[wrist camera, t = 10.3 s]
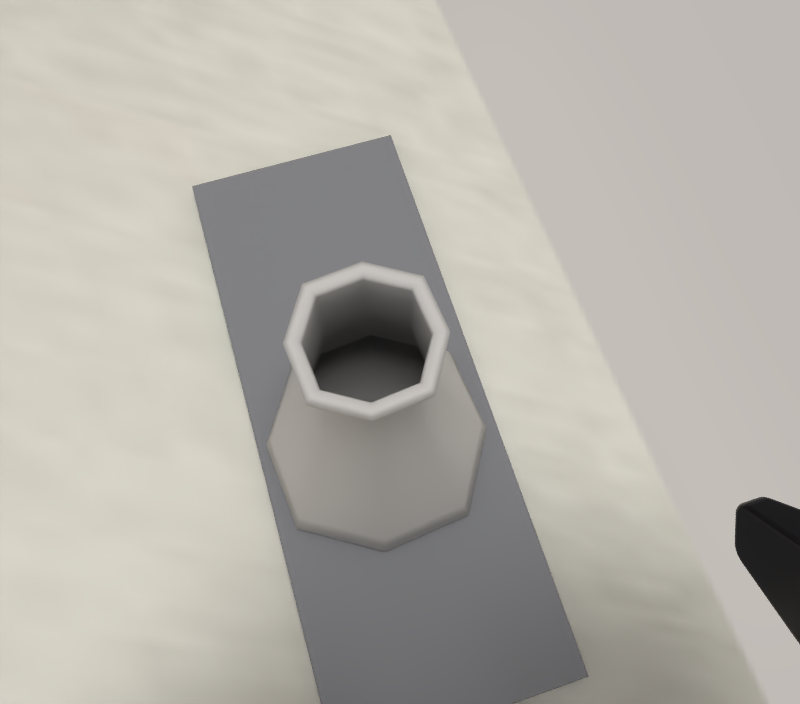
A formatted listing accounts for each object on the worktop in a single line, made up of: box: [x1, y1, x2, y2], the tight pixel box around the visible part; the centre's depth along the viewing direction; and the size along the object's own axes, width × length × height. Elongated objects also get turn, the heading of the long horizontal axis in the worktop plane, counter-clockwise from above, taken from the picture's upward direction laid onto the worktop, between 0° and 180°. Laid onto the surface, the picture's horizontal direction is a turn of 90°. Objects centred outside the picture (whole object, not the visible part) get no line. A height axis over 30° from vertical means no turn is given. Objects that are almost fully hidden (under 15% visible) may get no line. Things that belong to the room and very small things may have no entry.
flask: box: [266, 262, 487, 552], centre depth 17 cm, size 7×7×10 cm
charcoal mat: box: [192, 135, 588, 704], centre depth 23 cm, size 20×8×1 cm, turn 17°
